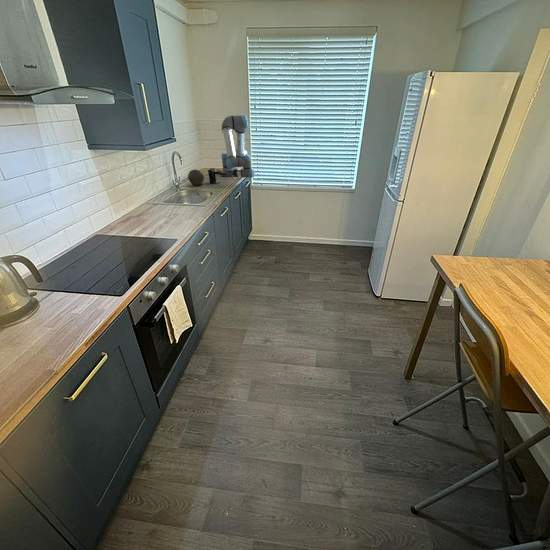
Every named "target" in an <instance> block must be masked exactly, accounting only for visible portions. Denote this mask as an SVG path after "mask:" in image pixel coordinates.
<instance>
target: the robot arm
mask: <svg viewBox="0 0 550 550" xmlns="http://www.w3.org/2000/svg"><path fill="white" fill-rule="evenodd" d="M248 129H249V122H248V117H247V115H246V114H235V115H228V116H226V117H225V118H224V119H223V121H222V123H221V132H222V134H223V139H224V143H225V144H224V145H225V151H223V152H222V153H221V163H222V169H220V170H222V171H223V172H221V171H220V170H219V169H216V170H215V171H214V173H215V175H220V176H222V177H226V178H227V177H228V178H229V177H230V178H231V177H234V178H241V179H242V178H246V179H247V178H248V179H250V178H252V179H253V178H254V177H255V174H256V173H255V169H253V168H252V159H251V156H250V154H249V153H248V151H247V150H246V142H245V141H246V132H247V130H248ZM233 131H234V132H235V143H234V138H233ZM235 144H236V145H235ZM235 147H236V149H235Z"/></svg>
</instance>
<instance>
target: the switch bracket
mask: <svg viewBox="0 0 550 550" xmlns="http://www.w3.org/2000/svg"><path fill="white" fill-rule="evenodd" d="M213 171H216V170H215V168H210V169H207V172H208V181H207V182H205V184H206V185H209V184H210V185H217V184H219V183H220V182H221V180H217V177H216V174H215V173H214V172H213Z"/></svg>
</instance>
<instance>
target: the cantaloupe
mask: <svg viewBox="0 0 550 550" xmlns="http://www.w3.org/2000/svg"><path fill="white" fill-rule="evenodd" d="M204 177H205V176H204V174H203V173H202V171H200V170H199V169H192V170H190V171H189V172H188V174H187V179H188V181H189V183H190V184H191V185H193V186H194V187H195V186H196V187H198V186H201V185H202V184H203V183H204V179H205V178H204Z"/></svg>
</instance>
